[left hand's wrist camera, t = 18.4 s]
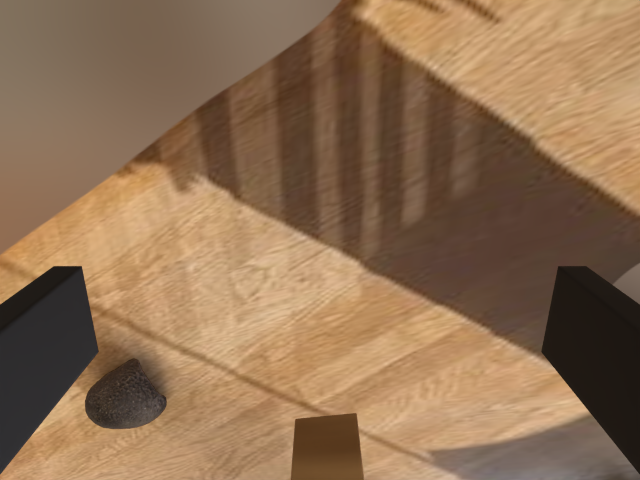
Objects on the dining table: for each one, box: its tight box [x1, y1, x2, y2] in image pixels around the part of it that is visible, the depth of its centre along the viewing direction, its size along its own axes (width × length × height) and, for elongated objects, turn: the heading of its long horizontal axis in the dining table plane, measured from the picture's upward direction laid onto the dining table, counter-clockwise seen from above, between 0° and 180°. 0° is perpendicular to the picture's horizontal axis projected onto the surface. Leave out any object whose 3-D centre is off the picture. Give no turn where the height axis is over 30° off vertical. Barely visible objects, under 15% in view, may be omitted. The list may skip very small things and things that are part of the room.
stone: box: [85, 359, 166, 429], centre depth 60 cm, size 10×8×10 cm
